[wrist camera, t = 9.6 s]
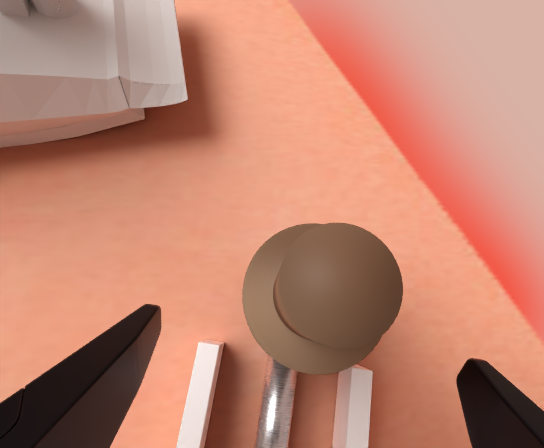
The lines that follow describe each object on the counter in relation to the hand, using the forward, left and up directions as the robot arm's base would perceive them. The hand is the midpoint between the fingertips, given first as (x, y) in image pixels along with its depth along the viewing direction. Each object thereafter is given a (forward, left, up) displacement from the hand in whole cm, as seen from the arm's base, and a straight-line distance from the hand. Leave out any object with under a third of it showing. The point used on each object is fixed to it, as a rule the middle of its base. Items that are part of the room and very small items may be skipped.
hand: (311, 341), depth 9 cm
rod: (-5, +1, -9) cm, 11 cm away
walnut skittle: (+1, 0, -9) cm, 9 cm away
